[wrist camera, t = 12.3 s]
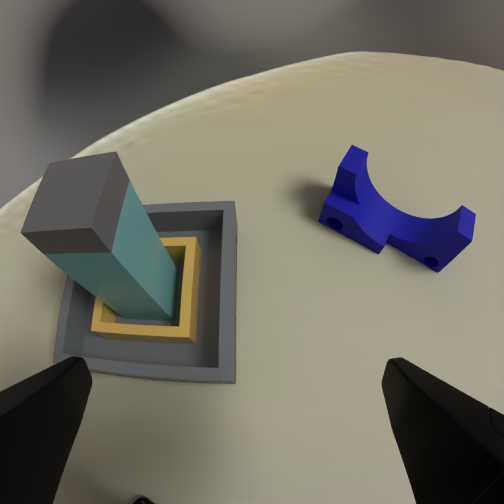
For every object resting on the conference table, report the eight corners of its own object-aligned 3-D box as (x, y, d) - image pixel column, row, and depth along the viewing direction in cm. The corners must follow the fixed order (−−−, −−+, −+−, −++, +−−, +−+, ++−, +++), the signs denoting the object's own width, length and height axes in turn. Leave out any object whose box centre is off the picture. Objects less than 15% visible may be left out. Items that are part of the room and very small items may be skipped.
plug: (174, 320, 22) (91, 227, 10) (126, 319, 22) (20, 232, 10) (178, 271, 24) (116, 151, 12) (132, 271, 24) (49, 163, 12)
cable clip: (318, 223, 26) (331, 178, 21) (337, 190, 28) (351, 144, 23) (433, 287, 23) (469, 255, 18) (443, 248, 25) (475, 214, 20)
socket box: (235, 383, 20) (231, 380, 17) (77, 369, 20) (53, 362, 17) (237, 225, 26) (234, 200, 23) (101, 230, 26) (85, 209, 23)
